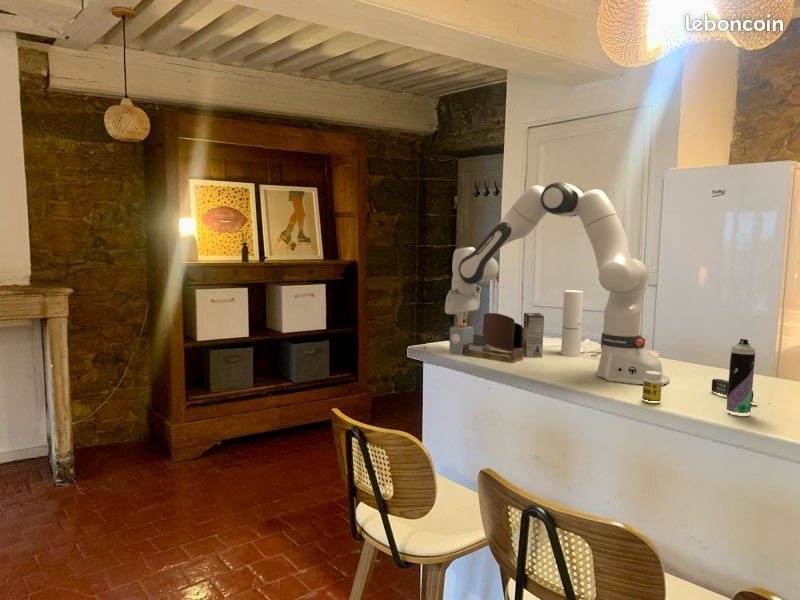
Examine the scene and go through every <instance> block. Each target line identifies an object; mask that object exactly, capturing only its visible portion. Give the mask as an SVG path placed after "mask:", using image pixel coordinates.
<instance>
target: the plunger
mask: <svg viewBox="0 0 800 600" xmlns="http://www.w3.org/2000/svg"><path fill="white" fill-rule="evenodd" d="M456 326H458V328H466V326H468V323H467V322H466V323H465V324H458V323H457V325H456Z"/></svg>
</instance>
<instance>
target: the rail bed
mask: <svg viewBox="0 0 800 600" xmlns="http://www.w3.org/2000/svg"><path fill="white" fill-rule="evenodd" d="M470 344H473V343H469V344H466V345H464V355H463V356H466V357H471V358H472V357H473V358H479V359H484V360H485V359H486V360H491V361H497V362H498V361H499V362H505V363H510V364H514V363H517V362H520V361H523V360H524V354H523V349H519V350H515V351H503V350H495V349H490V353H483V352H476V351H470V350H468V347H469V345H470Z"/></svg>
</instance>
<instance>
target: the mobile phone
mask: <svg viewBox="0 0 800 600" xmlns="http://www.w3.org/2000/svg"><path fill="white" fill-rule="evenodd" d="M728 383H729V380H724V379H720V378H719V379H718V378H713V379H712V381H711V391H713V392H716V393H720V394H723V395H726V396H728ZM751 402H753V403H754V391H753V389H752V399H751Z"/></svg>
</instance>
